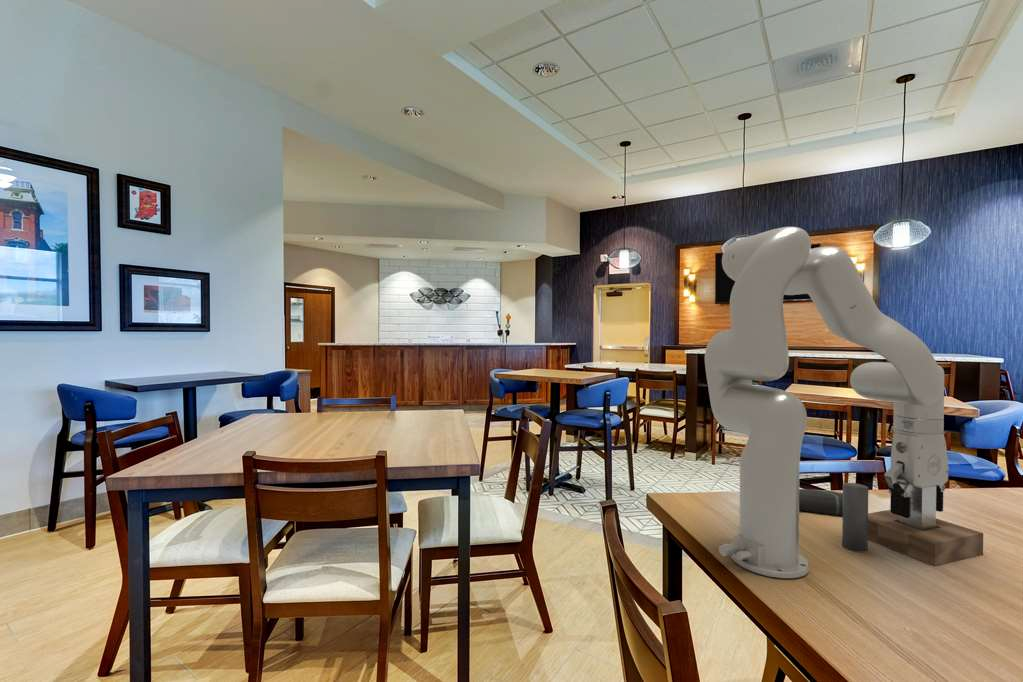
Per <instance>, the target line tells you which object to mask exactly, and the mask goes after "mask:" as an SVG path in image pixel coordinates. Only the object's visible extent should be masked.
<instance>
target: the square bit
mask: <svg viewBox="0 0 1023 682" xmlns="http://www.w3.org/2000/svg"><path fill="white" fill-rule="evenodd" d="M899 485H900V486H901V487H902V489H903V488H904V486H905V485H902V484H899ZM907 497H911V504H910V518H905V517H902V516H899V523H901V524H904V525H907V526H910V527H913V528H916V529H919V530H922V531H927V530H931V529H936V519H937V511H936V486H930V487H924V488H917V487H915V486H914V485H913V487H912V489H911V491H910V493H909V494H908V496H907Z"/></svg>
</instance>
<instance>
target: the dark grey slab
mask: <svg viewBox="0 0 1023 682" xmlns="http://www.w3.org/2000/svg"><path fill="white" fill-rule="evenodd" d="M799 511H804V512H808V513H814V512H815V513H816V514H822V513H823V514H825V515H831V514H832V515H831V516H843V492H837V491H833V490H822V489H811V488H799Z"/></svg>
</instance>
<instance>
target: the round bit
mask: <svg viewBox="0 0 1023 682" xmlns="http://www.w3.org/2000/svg"><path fill="white" fill-rule="evenodd" d="M842 493H843V515H842V525H841V526H842V527H841V528H842V532H841V533H842V536H841V537H842V540H841V542H842V543H841V544H842V547H843V548H845V549H846V550H850V551H853V552H857V553H867V552H868V549H869V548H868V546H869V545H868V544H869V540H868V513H869V487H868V485H867V486H866V485H863V484H861V483H855V482H844V483H842Z"/></svg>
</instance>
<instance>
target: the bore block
mask: <svg viewBox="0 0 1023 682" xmlns="http://www.w3.org/2000/svg"><path fill="white" fill-rule="evenodd" d="M868 541H870V542H871V543H875V544H877V545H879V546H882V547H886V548H888V549H890V550H893V551H895V552H898V553H901V554H903V555H906V556H909V557H911V558H914V559H916V560H919V561H921V562H923V563H926V564H929V565H931V566H934V567H937V566H940V565H945V564H949V563H953V562H957V561H961V560H964V559H969V558H972V557H977V556H981V555H983V554H984V532H981V531H979V530H975V529H971V528H968V527H965V526H962V525H958V524H955V523H952V522H949V521H946V520H942V519H939V518H936V529H931V530H927V531H922V530H919V529H916V528H913V527H910V526H907V525H904V524H901V523H899V515H896V514H893V513H891V511H890V509H886V510H880V511H879V510H878V511H873V512H868Z"/></svg>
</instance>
